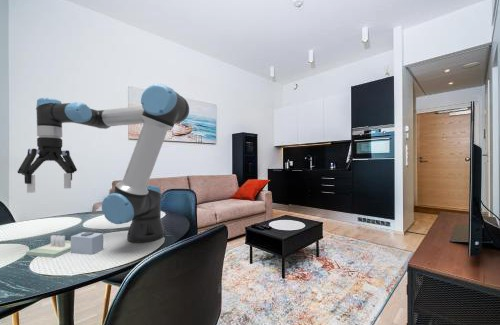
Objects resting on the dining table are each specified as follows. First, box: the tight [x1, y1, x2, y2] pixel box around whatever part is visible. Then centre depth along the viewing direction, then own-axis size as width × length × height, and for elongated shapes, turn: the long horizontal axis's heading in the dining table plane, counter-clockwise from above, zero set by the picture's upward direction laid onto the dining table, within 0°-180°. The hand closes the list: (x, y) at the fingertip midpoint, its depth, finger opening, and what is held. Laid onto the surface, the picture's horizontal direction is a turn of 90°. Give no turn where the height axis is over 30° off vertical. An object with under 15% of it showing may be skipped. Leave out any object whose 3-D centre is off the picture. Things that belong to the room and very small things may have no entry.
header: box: [25, 234, 71, 258], centre depth 83 cm, size 12×12×5 cm
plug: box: [70, 231, 104, 255], centre depth 82 cm, size 9×5×7 cm, turn 81°
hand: (50, 190), depth 88 cm, fingers open, 13 cm apart
